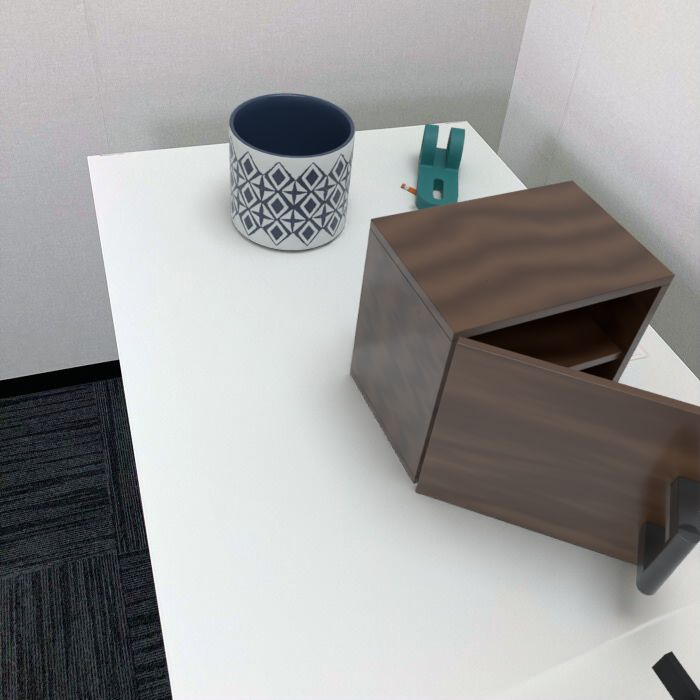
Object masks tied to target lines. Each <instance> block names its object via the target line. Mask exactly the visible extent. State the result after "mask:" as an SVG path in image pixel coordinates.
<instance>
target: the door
mask: <svg viewBox="0 0 700 700" xmlns="http://www.w3.org/2000/svg"><path fill="white" fill-rule="evenodd" d="M415 493H417V494H420V495H423V496H427V497H429V498H432V499H436V500H439V501H442V502H445V503H448V504H449V505H454V506H456V507H460V508H463V509H466V510H469V511H471V512H474V513H478V514H481V515H483V516H486V517H490V518H493V519H496V520H499V521H502V522H505V523H507V524H511V525H514V526H517V527H520V528H523V529H527V530H529V531H532V532H536V533H539V534H542V535H545V536H546V537H550V538H554V539H557V540H560V541H563V542H566V543H569V544H572V545H576V546H577V547H581V548H584V549H587V550H590V551H593V552H595V553H596V552H597V553H600V554H603V555H605V556H608V557H612V558H615V559H617V560H620V561H623V562H626V563H629V564H632V565H635V566H636V570H635V571H636V573H635V575H636V576H635V586H636V588H637V590H638V592H640V593H641V594H642V595H644V596H649V597H651V596H654V595H655V594H656V593H657V592H658V591H659V590H660V589H661V587H663V585H664V584H665V583H666V582H667V580H668V579H669V578H670V577H671V576H672V575H673V574H674V572H675V571H676V570H677V569H678V567H679V566H680V565H681V564H682V563H683V561H684V560H685V559H686V558H687V557H688V555H689V554H690V553H691V552H692V551H693V550H694V548H695V547H696V546H697V545H698V544H699V543H700V405H696V404H692V403H689V402H686V401H683V400H680V399H676V398H672V397H669V396H665V395H663V394H659V393H656V392H651V391H649V390H646V389H641V388H639V387H635V386H631V385H628V384H624V383H621V382H619V381H618V382H614V381H611V380H608V379H604V378H601V377H597V376H594V375H591V374H587V373H584V372H580V371H577V370H573V369H570V368H567V367H563V366H560V365H556V364H553V363H550V362H546V361H543V360H539V359H536V358H532V357H529V356H526V355H522V354H519V353H515V352H512V351H508V350H505V349H502V348H498V347H495V346H491V345H488V344H485V343H481V342H478V341H474V340H471V339H467V338H464V337H461V336H459V338H458V341H457V345H456V348H455V352H454V356H453V359H452V363H451V366H450V370H449V373H448V377H447V381H446V384H445V388H444V391H443V395H442V398H441V402H440V406H439V409H438V413H437V416H436V420H435V423H434V427H433V430H432V434H431V438H430V441H429V445H428V448H427V452H426V455H425V459H424V463H423V466H422V470H421V473H420V477H419V480H418V482H417V483H416V487H415Z"/></svg>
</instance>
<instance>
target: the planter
mask: <svg viewBox="0 0 700 700" xmlns="http://www.w3.org/2000/svg"><path fill="white" fill-rule="evenodd" d="M355 139H356V126H355V122H354V120H353V119H352V117H351V116H350V115H349V114H348V112H346V111H345V110H344V109H343V108H341V107H340V106H338V105H337V104H335V103H333V102H331V101H329V100H326V99H323V98H320V97H316V96H313V95H308V94H302V93H290V92H289V93H288V92H278V93H269V94H268V93H267V94H263V95H258V96H256V97H253V98H250V99H248V100H246V101H245V100H244V101H243V102H242V103H240V104H239V105H237V106H236V107H235V108H234V109H233V111H232V112H231V114H230V116H229V119H228V153H229V155H228V156H229V190H230V191H229V192H230V216H231V221H232V223H233V225H234V226H235V228H236V229H237V231H238V232H240V234H241V235H243V237H245V238H247V239H248V240H249V241H251V242H254V243H256V244H258V245H261V246H263V247H266V248H270V249H274V250H280V251H281V250H282V251H302V250H309V249H315V248H317V247H320V246H323V245H325V244H327V243H330V242H331V241H333V240H334V239H335V238H337V237H338V236H339V235H340V233H341V232H342V231H343V229H344V228H345V225H346V221H347V214H348V213H347V212H348V205H349V204H348V203H349V194H350V186H351V176H352V168H353V157H354V149H355V148H354V147H355Z"/></svg>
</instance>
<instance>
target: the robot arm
mask: <svg viewBox="0 0 700 700" xmlns="http://www.w3.org/2000/svg"><path fill="white" fill-rule="evenodd" d="M651 669H652V670H653V672H654V673H655V675H656V676H657V678H658V679H659V681H660V682H661V684H662V686H663V687H664V688H665V690H666V691H667V692H668V694H669V696H671V698H672V699H673V700H700V688H699V687H698V685H697V684H696V683H695V681H694V680H693V679H692V677H691V676H690V674H689V673H688V671H686V669H685V668H684V666H683V664H682V663H681V662H680V660H679V659H678V658H677V656H676V655H675V653H674V652H673V650H671V651H668V652H666V653H665V654H663V655H662V656H661V657H660V658H659V660H657V661H656V662H655V663H654V664H653V665H652V666H651Z"/></svg>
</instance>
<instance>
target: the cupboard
mask: <svg viewBox="0 0 700 700" xmlns="http://www.w3.org/2000/svg"><path fill="white" fill-rule="evenodd" d="M367 238H368V239H367V245H366V252H365V260H364V266H363V275H362V280H361V289H360V294H359V295H360V297H359V302H358V304H359V305H358V311H357V318H356V325H355V333H354V340H353V348H352V354H351V361H350V370H349V375H350V376H351V378H352V380H353V382H354V384H355V385H356V387H357V389H358V391H359V392H360V394H361V395H362V397H363V399H364V401H365V403H366V404H367V406H368V408H369V409H370V411H371V413H372V414H373V416H374V418H375V420H376V421H377V423H378V425H379V427H380V429H381V430H382V432H383V434H384V436H385V437H386V439H387V441H388V442H389V444H390V446H391V448H392V450H393V451H394V453H395V455H396V456H397V458H398V460H399V462H400V463H401V465H402V466H403V468H404V470H405V472H406V474H407V476H408V477H409V479H410V481H411V482H412V484H418V480H419V477H420V473H421V470H422V466H423V463H424V459H425V455H426V452H427V448H428V445H429V441H430V438H431V434H432V430H433V427H434V423H435V420H436V416H437V413H438V409H439V406H440V402H441V398H442V395H443V391H444V388H445V384H446V381H447V377H448V373H449V370H450V366H451V363H452V359H453V356H454V352H455V348H456V345H457V341H458V338H459V336H461V337H464V338H467V339H471V340H474V341H478V342H481V343H485V344H488V345H491V346H495V347H498V348H502V349H505V350H508V351H512V352H515V353H519V354H522V355H526V356H529V357H532V358H536V359H539V360H543V361H546V362H550V363H553V364H556V365H560V366H563V367H567V368H570V369H573V370H577V371H580V372H584V373H587V374H591V375H594V376H597V377H601V378H604V379H608V380H611V381H614V382H618V383H619V382H620V380H621V378H622V377H623V374H624V372H625V370H626V368H627V366H628V365H629V363H630V361H631V359H632V357H633V355H634V353H635V351H636V350H637V348H638V346H639V344H640V342H641V340H642V338H643V336H644V335H645V333H646V331H647V329H648V327H649V325H650V324H651V321H652V320H653V318H654V315H655V314H656V312H657V310H658V308H659V306H660V305H661V304H662V303H661V302H662V301H663V299H664V298H665V296H666V293H667V291H668V290H669V288H670V286H671V283H672V282H673V280H674V278H675V276H676V274H675V273H674V272H673V271H672V270H671V269H669V268H668V266H667V265H666V264H664V263H663V262H662V261H661V260H660V259H658V257H657V256H655V255H654V254H653V253H652V252H651V251H650V250H649V249H648V248H647V247H646V246H644V244H642V243H641V242H640V241H639V240H638V239H637V238H636V237H635V236H634V235H633V234H632V233H630V232H629V231H628V230H627V229H626V228H625V227H624V226H623V225H622V224H621V223H620V222H618V220H616V219H615V218H614V217H613V216H612V215H611V214H610V213H609V212H607V210H605V209H604V208H603V207H602V206H601V205H600V204H599V202H597V201H596V200H595V199H594V198H593V197H591V196H590V195H589V194H588V193H587V192H586V191H585V190H584V189H583V188H582V187H580V185H579V184H577V183H576V181H574V180H573V179H571V180H566V181H561V182H556V183H551V184H545V185H542V186H535V187H531V188H530V187H529V188H525V189H520V190H515V191H509V192H503V193H498V194H494V195H488V196H483V197H478V198H472V199H469V200H468V199H467V200H462V201H457V202H456V203H451V204H446V205H441V206H435V207H430V208H425V209H420V210H419V209H415V210H410V211H405V212H399V213H394V214H388V215H383V216H379V217H373V218H370V224H369V231H368V237H367Z"/></svg>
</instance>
